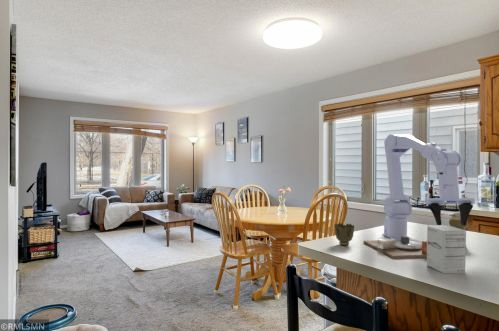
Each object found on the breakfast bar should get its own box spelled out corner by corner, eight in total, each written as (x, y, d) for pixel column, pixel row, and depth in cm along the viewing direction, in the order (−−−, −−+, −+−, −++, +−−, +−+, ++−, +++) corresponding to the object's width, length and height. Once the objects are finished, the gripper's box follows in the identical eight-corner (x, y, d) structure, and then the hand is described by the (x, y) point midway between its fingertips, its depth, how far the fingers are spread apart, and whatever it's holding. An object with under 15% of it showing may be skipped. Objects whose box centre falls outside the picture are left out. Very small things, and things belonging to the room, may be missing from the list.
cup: (355, 243, 121) (355, 223, 121) (353, 248, 114) (353, 227, 114) (335, 241, 124) (336, 222, 124) (332, 246, 117) (332, 225, 117)
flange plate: (405, 241, 120) (405, 234, 120) (429, 248, 110) (429, 240, 110) (370, 244, 115) (370, 236, 115) (391, 252, 105) (391, 244, 105)
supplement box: (425, 265, 96) (426, 225, 96) (448, 264, 96) (448, 224, 96) (442, 273, 88) (442, 230, 88) (466, 273, 89) (467, 229, 89)
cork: (469, 249, 113) (470, 220, 113) (451, 248, 115) (451, 219, 115) (461, 245, 119) (462, 217, 119) (444, 244, 121) (445, 216, 121)
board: (363, 243, 122) (363, 230, 122) (414, 241, 125) (414, 229, 125) (393, 258, 102) (393, 243, 102) (453, 256, 105) (453, 242, 105)
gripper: (429, 185, 104) (432, 226, 103) (478, 184, 101) (481, 226, 100) (422, 186, 111) (425, 224, 109) (467, 185, 108) (470, 224, 107)
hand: (451, 225), depth 105 cm, fingers open, 7 cm apart
